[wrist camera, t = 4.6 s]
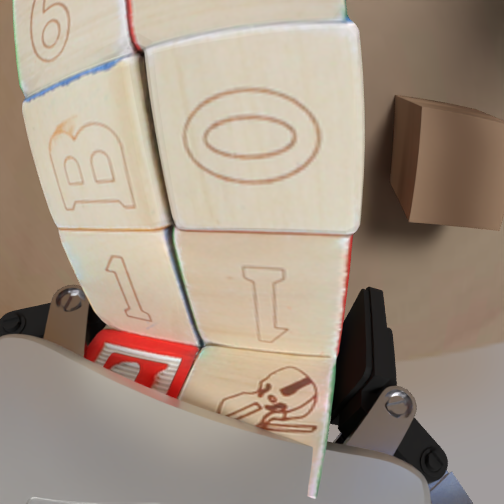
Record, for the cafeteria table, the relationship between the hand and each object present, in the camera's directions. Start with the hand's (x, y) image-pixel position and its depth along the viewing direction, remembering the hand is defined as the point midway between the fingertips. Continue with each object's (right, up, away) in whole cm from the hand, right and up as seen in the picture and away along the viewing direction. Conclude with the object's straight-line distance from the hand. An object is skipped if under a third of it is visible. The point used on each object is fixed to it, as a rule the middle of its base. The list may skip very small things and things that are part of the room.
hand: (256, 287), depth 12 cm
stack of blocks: (+1, +3, +4) cm, 5 cm away
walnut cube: (+10, +7, +3) cm, 13 cm away
